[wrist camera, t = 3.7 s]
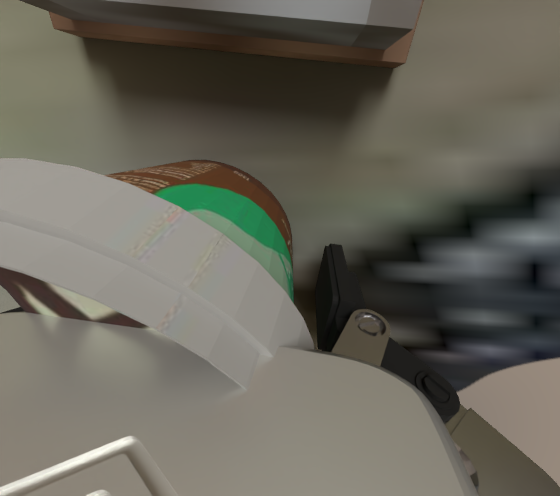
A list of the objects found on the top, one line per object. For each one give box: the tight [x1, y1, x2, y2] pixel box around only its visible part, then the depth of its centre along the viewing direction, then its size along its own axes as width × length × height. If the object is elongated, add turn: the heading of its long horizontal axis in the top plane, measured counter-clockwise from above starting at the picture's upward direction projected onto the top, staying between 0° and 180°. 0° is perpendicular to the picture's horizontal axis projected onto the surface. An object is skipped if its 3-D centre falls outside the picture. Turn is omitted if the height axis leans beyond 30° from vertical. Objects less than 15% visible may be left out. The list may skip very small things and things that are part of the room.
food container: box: [0, 158, 315, 390], centre depth 10 cm, size 12×6×10 cm, turn 5°
